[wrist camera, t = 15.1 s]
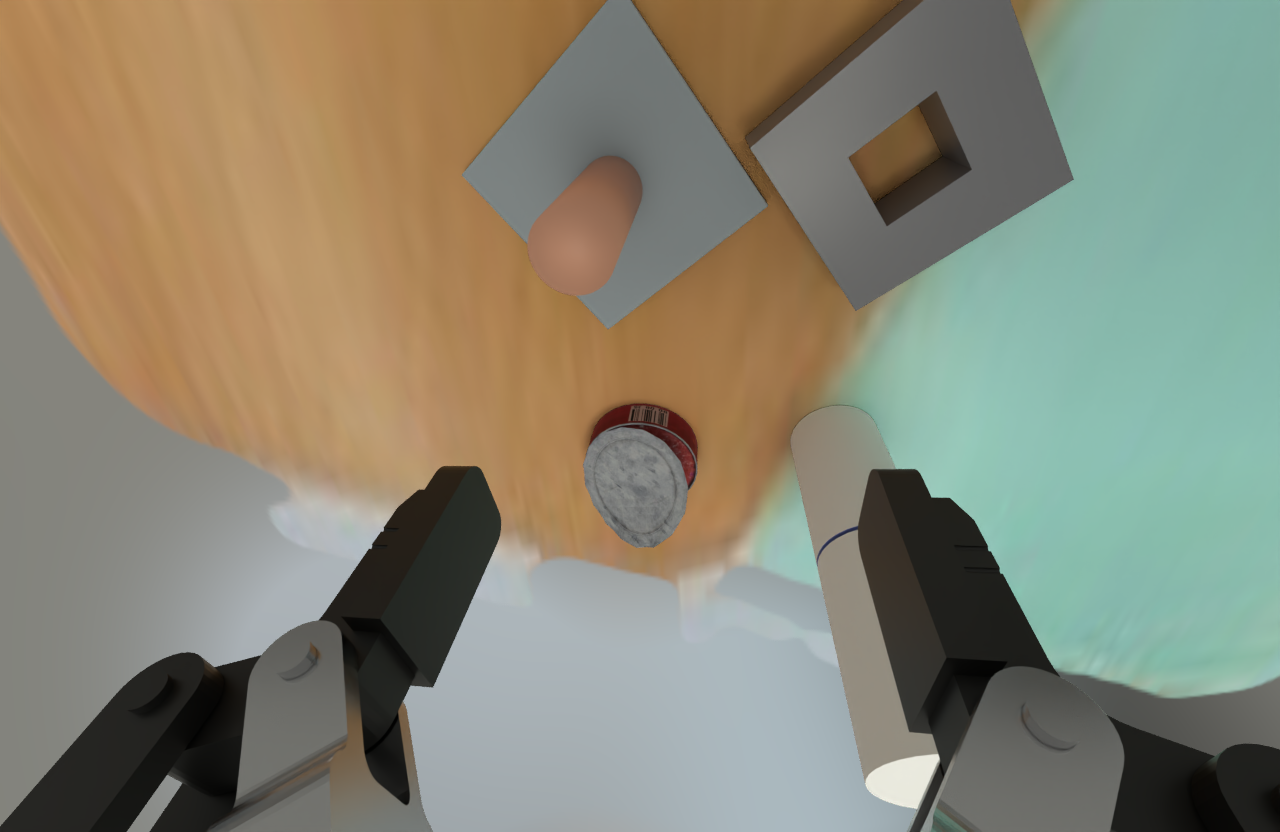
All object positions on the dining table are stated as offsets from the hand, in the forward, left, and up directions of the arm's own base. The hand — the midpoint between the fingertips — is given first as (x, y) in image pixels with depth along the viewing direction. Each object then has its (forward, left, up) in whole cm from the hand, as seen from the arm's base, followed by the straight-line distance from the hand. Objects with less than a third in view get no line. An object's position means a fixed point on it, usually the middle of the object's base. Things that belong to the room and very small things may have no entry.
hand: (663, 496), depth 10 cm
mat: (+4, -3, -27) cm, 27 cm away
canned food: (+17, +15, -27) cm, 35 cm away
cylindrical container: (+3, +24, -27) cm, 36 cm away
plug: (+4, -3, -26) cm, 27 cm away
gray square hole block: (-10, +6, -27) cm, 29 cm away
